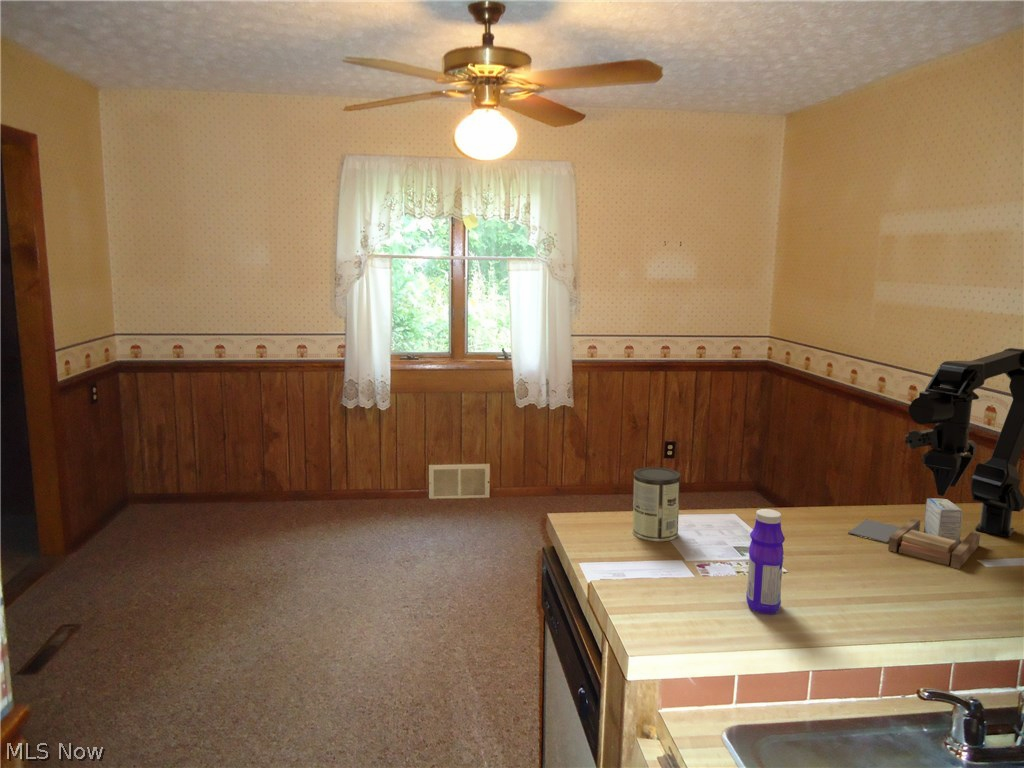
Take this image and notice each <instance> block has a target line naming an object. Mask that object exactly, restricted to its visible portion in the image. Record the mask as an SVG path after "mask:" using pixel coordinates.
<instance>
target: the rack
mask: <svg viewBox="0 0 1024 768" xmlns="http://www.w3.org/2000/svg"><path fill="white" fill-rule="evenodd" d="M921 520H922V519H921V518H916V517H912V518H911V519H909V520H908V521H907V522H906V523H905V524H904V525H902V526H900V527H901V528H900V529H899V530H898V531H896V532H895V533H894V534H893V535H891V536H890V537H889V542H888V549H887V551H888V550H889V552H891V551H893V552H892V553H895V552H896V553H897V552H899V547H900V546H901V542H902V539H903V535H905V534H906V533H907V532H909V531H910V530H915V531H919V532H920V528H921ZM980 539H981V531H977V530H971V532H970V533H969V534H968V535H967V536H966V537H965V538H964V539H963V540H962V541H960V545H959V546H958V547H957V548H955V550H954V551H953V552H952V558H951V564H950V567H951V568H954V569H958V570H960V569H961V567H962V566H963V565H964V564H965V563H966V561H968V559H969V558H970V557H971V556H972V555H973V554H974V552H976V550H977V549H978V548H979V546H980Z"/></svg>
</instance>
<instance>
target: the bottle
mask: <svg viewBox="0 0 1024 768" xmlns="http://www.w3.org/2000/svg"><path fill="white" fill-rule="evenodd" d="M781 522H782V514H781V512H779V511H778V510H775V509H769V508H764V509H763V508H762V509H758V510H756V513H755V523H754V526H753V529H752V530H751V532H749V533H750V534H749V538H750V539H751V541H750V543H749V547H748V571H747V585H746V593H745V594H746V598H745V599H746V602H747V605H748V607H749V608H750V610H752V611H754V612H755V613H760V614H766V615H767V614H768V615H771V614H777V613H778V611H779V609H780V607H781V603H782V600H781V598H782V596H781V594H782V592H781V591H782V580H783V579H782V578H783V577H782V575H783V574H782V573H783V563H784V560H785V559H784V558H785V557H784V555H785V554H784V546H783V544H784V542H785V539H786V538H785V536H784V534H783V530H782V523H781Z"/></svg>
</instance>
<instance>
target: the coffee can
mask: <svg viewBox="0 0 1024 768" xmlns="http://www.w3.org/2000/svg"><path fill="white" fill-rule="evenodd" d="M681 477H682V476H681V473H680V472H678V471H677V470H674V469H670V468H665V467H654V466H652V467H651V466H650V467H649V466H648V467H643V468H642V467H641V468H638V469H635V470H634V471H633V498H632V499H633V504H632V508H633V509H632V510H633V512H632V533H633V535H634V536H635V537H637V538H639V539H641V540H644V541H650V542H663V543H664V542H668V541H669V542H670V541H673V540H675V539H677V538H678V536H679V511H680V488H681V487H680V486H681V485H680V483H681V482H680V480H681Z"/></svg>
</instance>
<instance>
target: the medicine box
mask: <svg viewBox="0 0 1024 768" xmlns="http://www.w3.org/2000/svg"><path fill="white" fill-rule="evenodd" d="M963 514H964V512H963V509H961V508H959V506H958V505H956V504H955V503H953V502H951V501H950V500H949V499H948V498H947V499H945V498H937V497H935V498H930V497H929V498H927V499H926V507H925V518H924V524H923V525H924V526H923V533H927V534H931V535H935V536H939V537H943V538H947V539H951V540H955V541H956V546H955V549H956V548H957V547H958V546H959V545H960V544H961V535H962V525H963V524H962V523H963Z"/></svg>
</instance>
